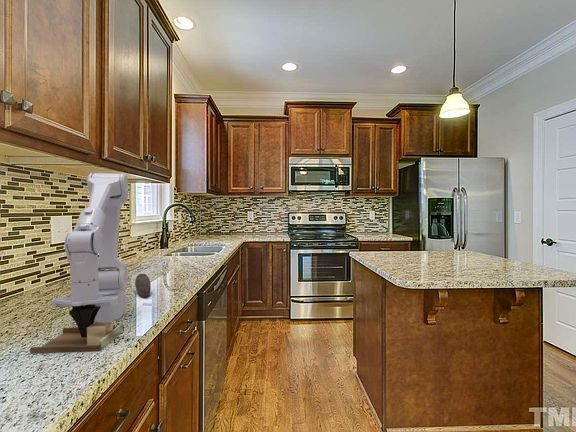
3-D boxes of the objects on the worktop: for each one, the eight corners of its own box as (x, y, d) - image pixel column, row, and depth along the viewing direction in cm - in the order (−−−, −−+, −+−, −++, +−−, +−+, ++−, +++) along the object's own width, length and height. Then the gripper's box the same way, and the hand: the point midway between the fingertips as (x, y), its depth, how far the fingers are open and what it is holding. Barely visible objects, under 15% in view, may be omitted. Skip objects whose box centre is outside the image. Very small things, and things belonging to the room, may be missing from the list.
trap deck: (64, 338, 83) (64, 324, 83) (124, 336, 84) (123, 323, 84) (30, 360, 72) (29, 344, 71) (100, 357, 72) (99, 342, 72)
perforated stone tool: (152, 298, 119) (152, 279, 119) (137, 300, 117) (136, 281, 116) (149, 289, 132) (148, 272, 132) (134, 290, 130) (134, 273, 130)
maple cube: (96, 337, 80) (96, 321, 80) (112, 337, 80) (112, 321, 80) (87, 344, 76) (86, 327, 76) (104, 344, 76) (104, 327, 76)
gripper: (41, 284, 73) (43, 343, 73) (107, 283, 74) (109, 341, 74) (61, 277, 80) (63, 331, 81) (121, 276, 81) (122, 330, 81)
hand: (86, 336), depth 78 cm, fingers closed
